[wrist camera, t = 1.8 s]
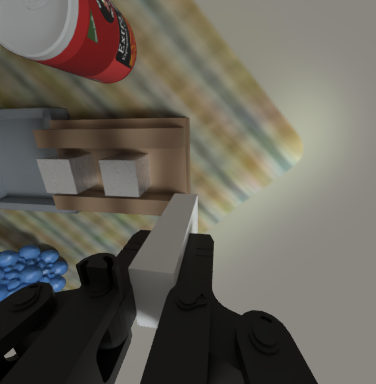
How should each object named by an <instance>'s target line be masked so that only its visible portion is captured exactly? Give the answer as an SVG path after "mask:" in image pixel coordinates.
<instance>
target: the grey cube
mask: <svg viewBox="0 0 376 384" xmlns="http://www.w3.org/2000/svg"><path fill="white" fill-rule="evenodd" d="M99 165H100V170H101V175H102V180H103V185H104V190H105V196H128V197H140V196H141V195H142V194H143V193H144V192H145V191H146V190H147V189H148V188H149V187H150V186H151V174H150V164H149V154H115V155H112V156H109V157H106V158H103V159H100V160H99Z"/></svg>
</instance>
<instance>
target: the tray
mask: <svg viewBox="0 0 376 384" xmlns="http://www.w3.org/2000/svg"><path fill="white" fill-rule="evenodd" d="M49 120H69V117H68V113H67V109H59V108H23V109H0V209H11V210H27V211H43V212H59V213H75V214H77V213H78V212H80V211H74V210H57V209H56V205H55V202H54V199H53V195H55V194H57V193H47V191H46V188H45V185H44V182H43V179H42V176H41V173H40V170H39V166H38V163H37V160H36V159H39V158H44V157H49V156H53V155H58V153H57V150H56V148H38V147H37V144H36V141H35V137H34V134H33V131H32V130H40V129H51V128H50V124H49Z"/></svg>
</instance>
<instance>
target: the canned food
mask: <svg viewBox="0 0 376 384" xmlns="http://www.w3.org/2000/svg"><path fill="white" fill-rule="evenodd" d="M0 44H1V45H2V46H4V47H5V48H7V49H8V50H9V51H12V52H14V53H16V54H18V55H20V56H22V57H24V58H27V59H30V60H33V61H36V62H38V63H41V64H44V65H47V66H51V67H54V68H57V69H60V70H63V71H66V72H69V73H72V74H76V75H79V76H82V77H85V78H88V79H91V80H94V81H97V82H101V83H114V82H118V81H120V80H122V79H124V78H125V77H126V76H127V75H128V74H129V73H130V72H131V70H132V68H133V66H134V63H135V60H136V42H135V37H134V34H133V31H132V29H131V26H130V25H129V23H128V21H127V19H126V18H125V17H124V16H123V15H122V14H121V12H120V11H119V10H118V9H117V8H116V7H115V6H114V5H113V3H112V2H111V1H110V0H0Z"/></svg>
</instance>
